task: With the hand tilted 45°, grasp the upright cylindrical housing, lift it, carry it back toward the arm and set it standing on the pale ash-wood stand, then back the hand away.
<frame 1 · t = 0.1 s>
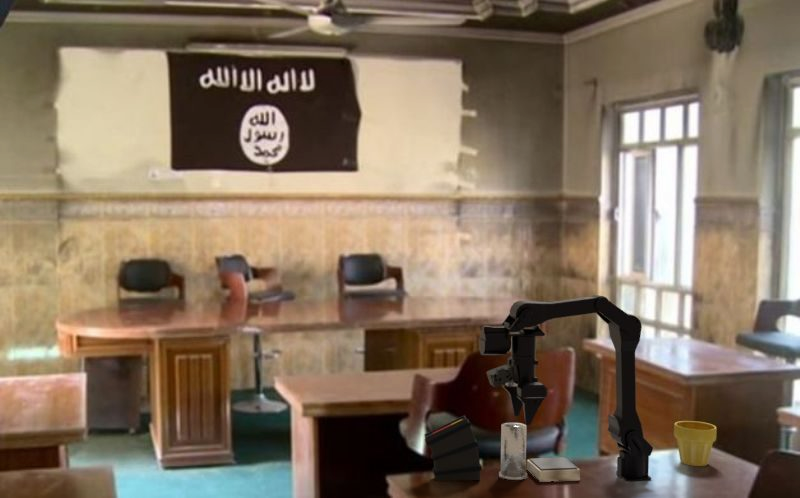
hand: (522, 420, 214), 15 cm above the table, tool pointing down, fingers open, 9 cm apart
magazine: (452, 480, 216), on the table
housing: (513, 476, 219), on the table
stand: (552, 475, 220), on the table
plant pot: (694, 463, 233), on the table
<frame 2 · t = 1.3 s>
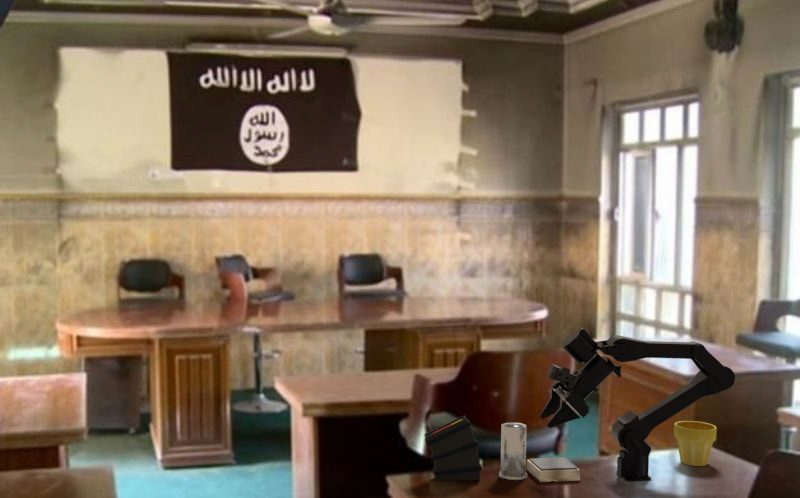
hand: (544, 422, 218), 13 cm above the table, tool tilted 45°, fingers open, 9 cm apart
nothing on the table moved.
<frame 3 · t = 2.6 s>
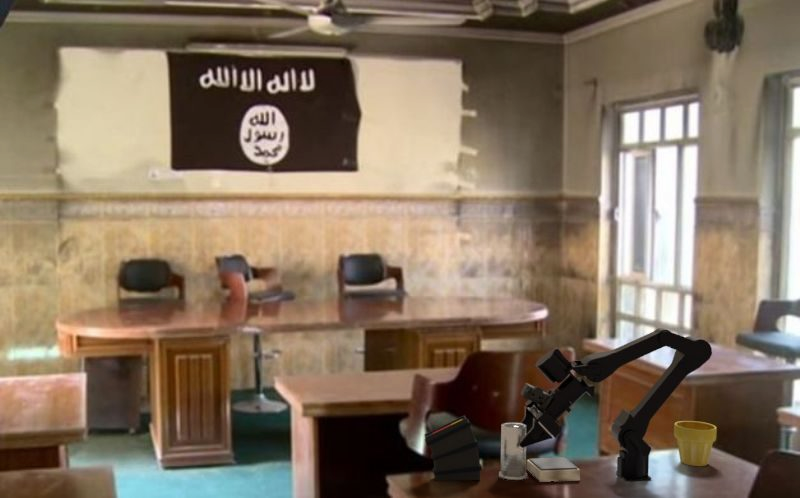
hand: (517, 441, 218), 9 cm above the table, tool tilted 45°, fingers open, 9 cm apart
nothing on the table moved.
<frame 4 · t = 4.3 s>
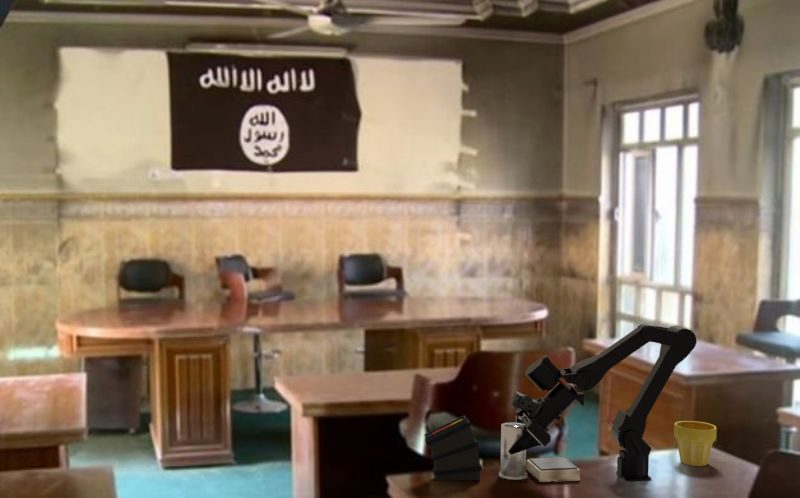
hand: (507, 449, 218), 7 cm above the table, tool tilted 45°, fingers closed on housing, 6 cm apart
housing: (513, 476, 219), on the table, touching gripper
everything else where it was.
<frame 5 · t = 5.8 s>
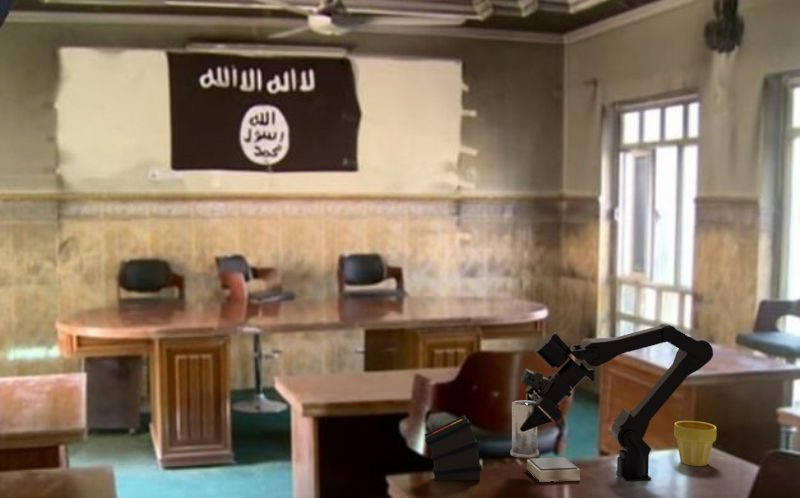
hand: (518, 427, 218), 12 cm above the table, tool tilted 45°, fingers closed on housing, 6 cm apart
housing: (524, 454, 219), point 5 cm above the table, touching gripper
everything else where it was.
when the fingers open (11 cm above the table, at t = 7.5 s): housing drops 1 cm, resting on stand.
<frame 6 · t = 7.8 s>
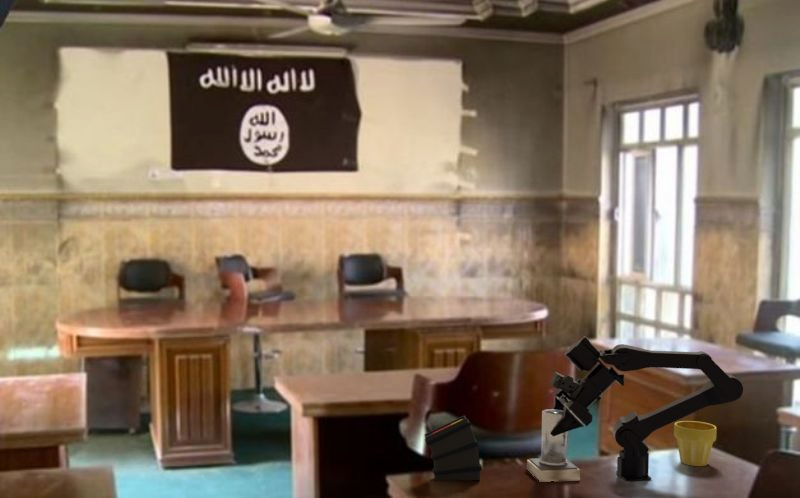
hand: (547, 430, 220), 11 cm above the table, tool tilted 45°, fingers open, 9 cm apart
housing: (553, 463, 220), point 3 cm above the table, touching stand
everything else where it was.
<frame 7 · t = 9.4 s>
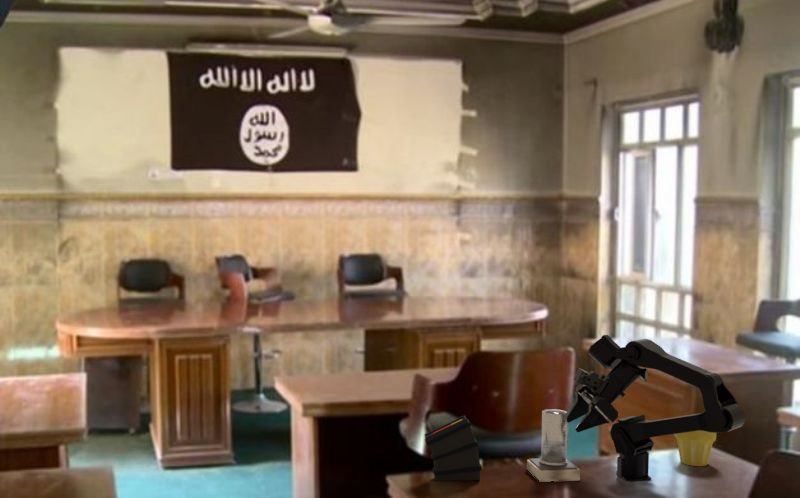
hand: (571, 425, 220), 12 cm above the table, tool tilted 45°, fingers open, 9 cm apart
nothing on the table moved.
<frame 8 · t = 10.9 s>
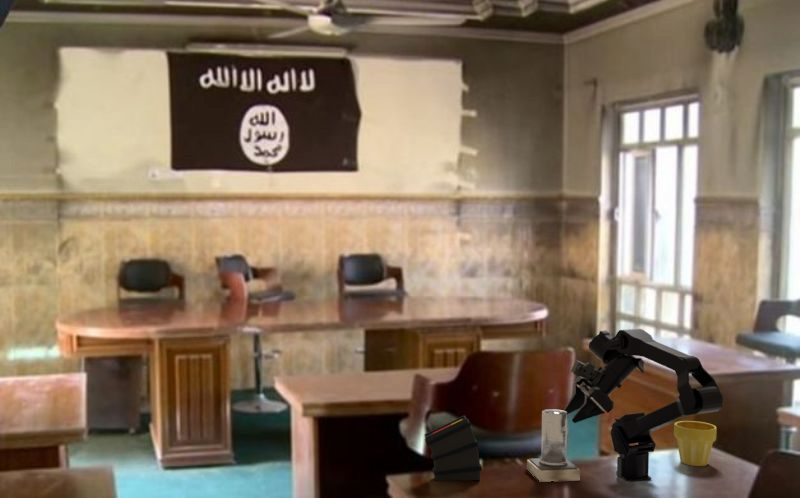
hand: (568, 417, 223), 14 cm above the table, tool tilted 45°, fingers open, 9 cm apart
nothing on the table moved.
at the end: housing 0.1 cm off-centre on the stand, point 3.0 cm above the stand's base; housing tilted 0°; the gripper is holding nothing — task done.
